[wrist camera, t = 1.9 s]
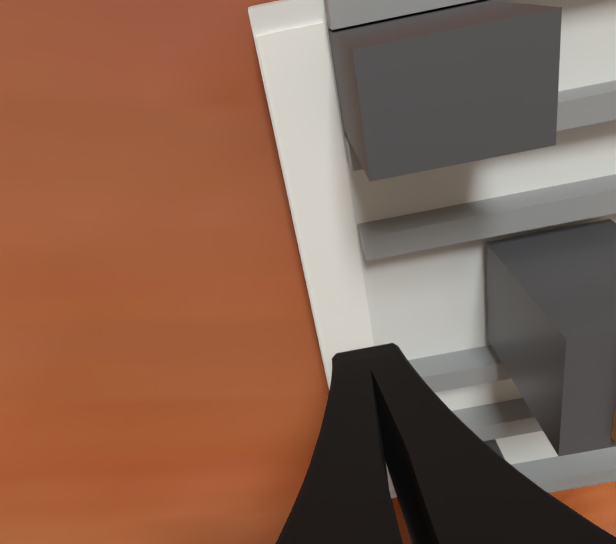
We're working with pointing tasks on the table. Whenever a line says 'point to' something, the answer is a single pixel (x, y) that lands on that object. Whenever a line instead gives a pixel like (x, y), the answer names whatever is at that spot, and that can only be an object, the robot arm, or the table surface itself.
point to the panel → (440, 178)
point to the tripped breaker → (559, 329)
